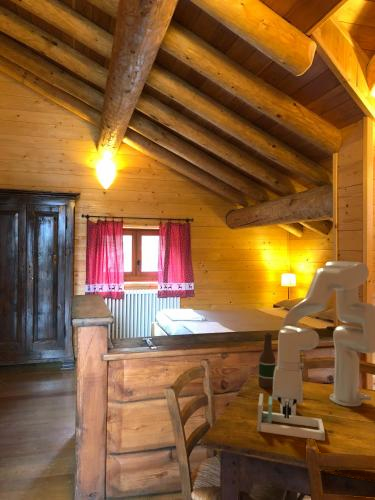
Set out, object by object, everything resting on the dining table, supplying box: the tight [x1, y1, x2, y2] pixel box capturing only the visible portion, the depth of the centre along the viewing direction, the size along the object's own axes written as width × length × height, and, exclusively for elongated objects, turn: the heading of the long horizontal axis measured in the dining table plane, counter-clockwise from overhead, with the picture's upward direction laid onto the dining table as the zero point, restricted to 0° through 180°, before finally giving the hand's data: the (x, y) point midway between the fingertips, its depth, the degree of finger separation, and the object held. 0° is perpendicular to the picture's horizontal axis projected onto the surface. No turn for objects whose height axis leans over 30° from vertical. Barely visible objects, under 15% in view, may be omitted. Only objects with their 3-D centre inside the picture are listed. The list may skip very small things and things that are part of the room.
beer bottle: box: [257, 332, 276, 389], centre depth 176 cm, size 8×8×24 cm
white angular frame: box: [256, 393, 326, 442], centre depth 134 cm, size 22×11×9 cm, turn 76°
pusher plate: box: [262, 396, 273, 424], centre depth 136 cm, size 3×7×9 cm, turn 166°
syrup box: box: [279, 398, 297, 416], centre depth 148 cm, size 6×6×14 cm
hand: (286, 416), depth 135 cm, fingers closed
